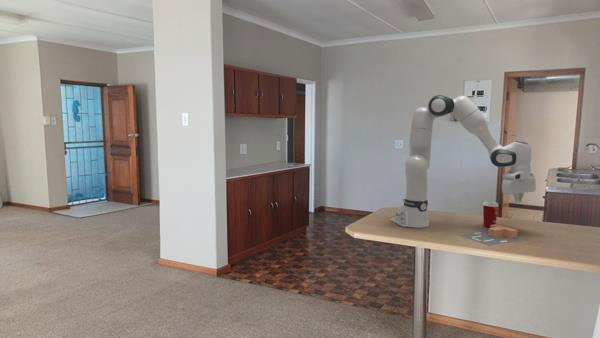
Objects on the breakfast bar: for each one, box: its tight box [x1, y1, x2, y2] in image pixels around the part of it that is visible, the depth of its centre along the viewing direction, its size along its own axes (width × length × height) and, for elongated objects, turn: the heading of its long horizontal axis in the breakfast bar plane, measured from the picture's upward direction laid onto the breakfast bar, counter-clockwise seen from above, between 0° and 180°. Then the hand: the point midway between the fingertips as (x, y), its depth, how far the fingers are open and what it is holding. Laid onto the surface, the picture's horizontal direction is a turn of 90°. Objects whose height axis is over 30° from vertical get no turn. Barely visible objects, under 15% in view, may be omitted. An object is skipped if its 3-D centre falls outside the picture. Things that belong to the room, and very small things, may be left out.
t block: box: [487, 223, 519, 239], centre depth 198 cm, size 12×10×4 cm
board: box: [458, 230, 526, 246], centre depth 197 cm, size 18×25×1 cm
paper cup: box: [482, 200, 499, 229], centre depth 216 cm, size 8×8×14 cm
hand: (518, 202), depth 201 cm, fingers closed
